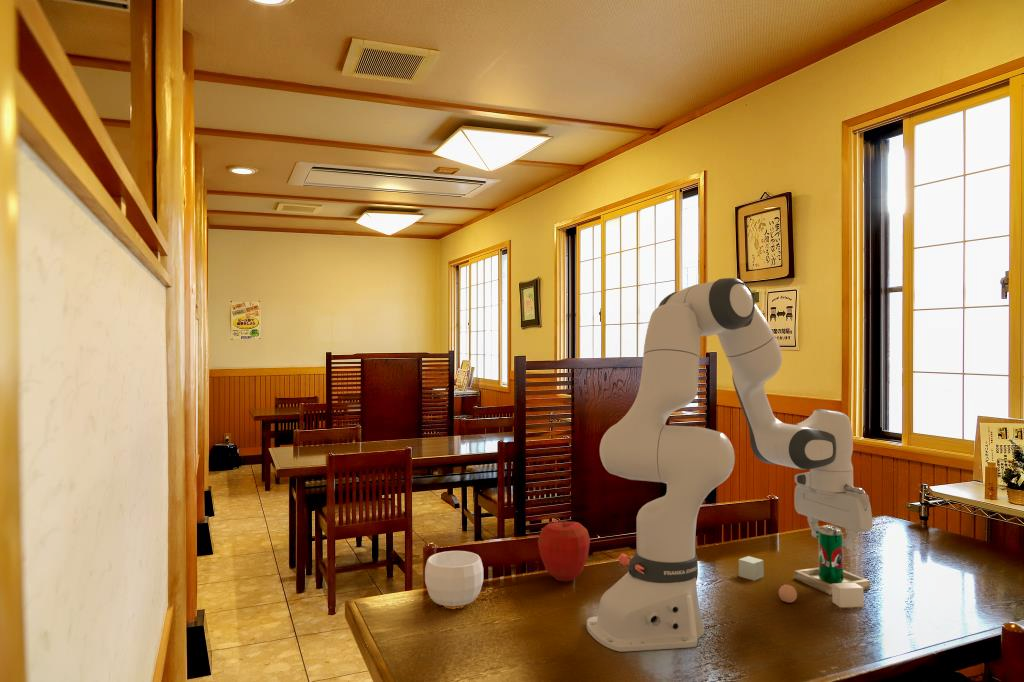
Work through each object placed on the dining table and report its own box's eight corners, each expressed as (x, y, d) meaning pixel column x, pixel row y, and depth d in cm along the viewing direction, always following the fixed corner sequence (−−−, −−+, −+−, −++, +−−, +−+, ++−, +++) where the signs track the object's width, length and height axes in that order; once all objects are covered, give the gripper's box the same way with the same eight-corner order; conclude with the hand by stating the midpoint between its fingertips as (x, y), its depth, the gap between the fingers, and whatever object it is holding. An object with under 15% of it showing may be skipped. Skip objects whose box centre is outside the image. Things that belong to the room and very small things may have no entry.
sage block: (753, 580, 158) (753, 563, 158) (738, 576, 161) (738, 559, 161) (763, 577, 160) (763, 560, 160) (748, 572, 164) (748, 556, 164)
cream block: (840, 607, 142) (839, 588, 142) (832, 602, 145) (832, 583, 145) (863, 607, 142) (863, 587, 142) (855, 601, 145) (855, 582, 145)
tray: (829, 594, 149) (829, 586, 149) (794, 578, 159) (794, 570, 159) (869, 588, 152) (869, 580, 152) (832, 573, 163) (832, 565, 163)
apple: (578, 567, 168) (577, 510, 168) (599, 583, 156) (599, 522, 156) (530, 573, 164) (530, 514, 164) (549, 590, 152) (548, 527, 152)
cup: (412, 605, 144) (412, 559, 144) (456, 589, 153) (455, 546, 153) (452, 621, 136) (452, 572, 136) (495, 603, 145) (495, 557, 145)
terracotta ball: (786, 606, 142) (786, 588, 142) (775, 600, 146) (774, 583, 146) (800, 604, 143) (800, 586, 143) (789, 598, 147) (788, 581, 147)
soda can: (844, 579, 156) (844, 526, 156) (842, 586, 152) (841, 532, 152) (820, 575, 159) (820, 524, 159) (817, 582, 155) (816, 529, 155)
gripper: (879, 489, 146) (880, 554, 146) (811, 473, 166) (811, 530, 166) (856, 490, 144) (856, 556, 144) (789, 474, 164) (789, 532, 164)
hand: (831, 542), depth 155 cm, fingers open, 8 cm apart
